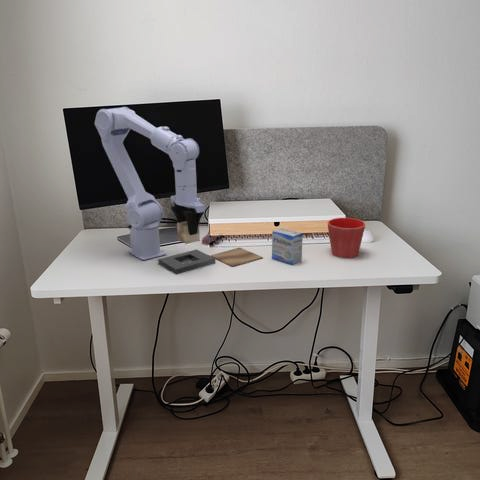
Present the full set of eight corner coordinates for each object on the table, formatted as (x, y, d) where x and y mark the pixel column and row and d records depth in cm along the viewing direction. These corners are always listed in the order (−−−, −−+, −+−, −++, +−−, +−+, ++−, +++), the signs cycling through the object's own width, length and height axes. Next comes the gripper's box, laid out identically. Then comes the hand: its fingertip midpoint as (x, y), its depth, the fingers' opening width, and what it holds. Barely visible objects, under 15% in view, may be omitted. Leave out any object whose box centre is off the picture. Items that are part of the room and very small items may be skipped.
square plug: (177, 240, 144) (176, 223, 143) (191, 236, 147) (190, 220, 145) (186, 244, 141) (185, 226, 139) (199, 240, 143) (199, 223, 142)
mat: (210, 256, 151) (210, 255, 151) (239, 248, 157) (239, 247, 157) (232, 267, 143) (232, 265, 143) (262, 258, 149) (262, 257, 149)
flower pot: (340, 262, 145) (342, 230, 142) (319, 250, 155) (320, 220, 151) (370, 256, 149) (373, 225, 146) (348, 245, 159) (350, 215, 156)
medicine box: (271, 259, 148) (271, 230, 146) (280, 255, 152) (281, 227, 149) (292, 265, 143) (293, 236, 141) (302, 261, 146) (303, 232, 144)
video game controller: (212, 249, 162) (221, 231, 159) (200, 243, 162) (209, 224, 159) (219, 239, 171) (228, 222, 168) (207, 233, 171) (216, 216, 168)
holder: (158, 264, 146) (158, 259, 145) (196, 254, 153) (196, 249, 153) (176, 274, 138) (176, 269, 138) (215, 263, 146) (215, 258, 145)
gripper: (213, 186, 135) (214, 235, 140) (184, 178, 146) (187, 223, 151) (190, 190, 131) (192, 240, 136) (163, 182, 142) (166, 228, 147)
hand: (188, 232), depth 143 cm, fingers closed on square plug, 4 cm apart
